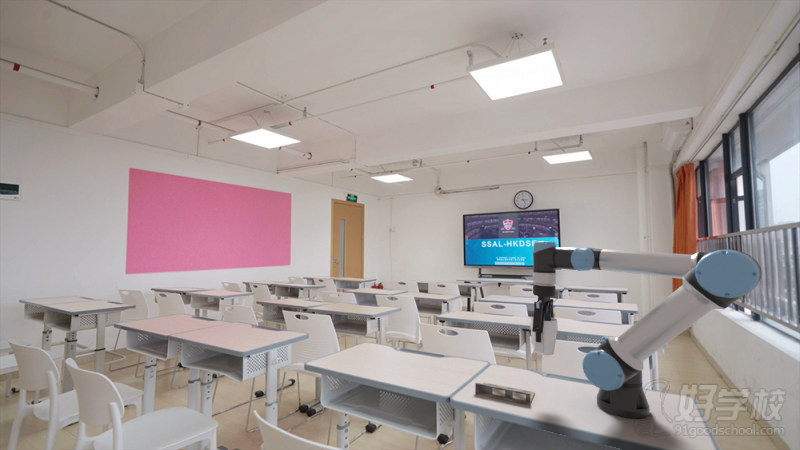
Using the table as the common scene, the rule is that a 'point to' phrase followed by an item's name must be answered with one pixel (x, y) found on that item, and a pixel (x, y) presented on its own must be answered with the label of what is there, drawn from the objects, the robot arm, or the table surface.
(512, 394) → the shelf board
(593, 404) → the table surface
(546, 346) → the cup
